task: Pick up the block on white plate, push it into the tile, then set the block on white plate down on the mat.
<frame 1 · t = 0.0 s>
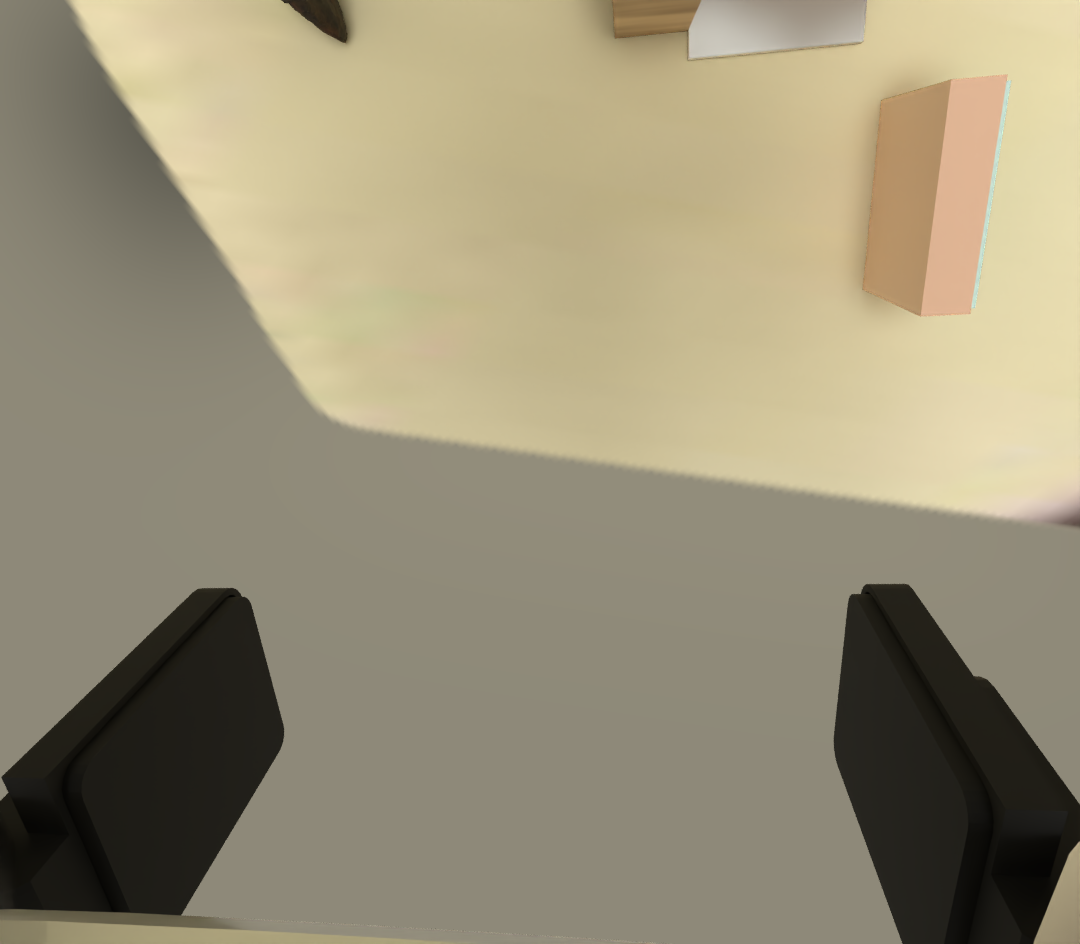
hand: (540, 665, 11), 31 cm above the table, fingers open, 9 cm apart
tile: (892, 197, 36), on the table
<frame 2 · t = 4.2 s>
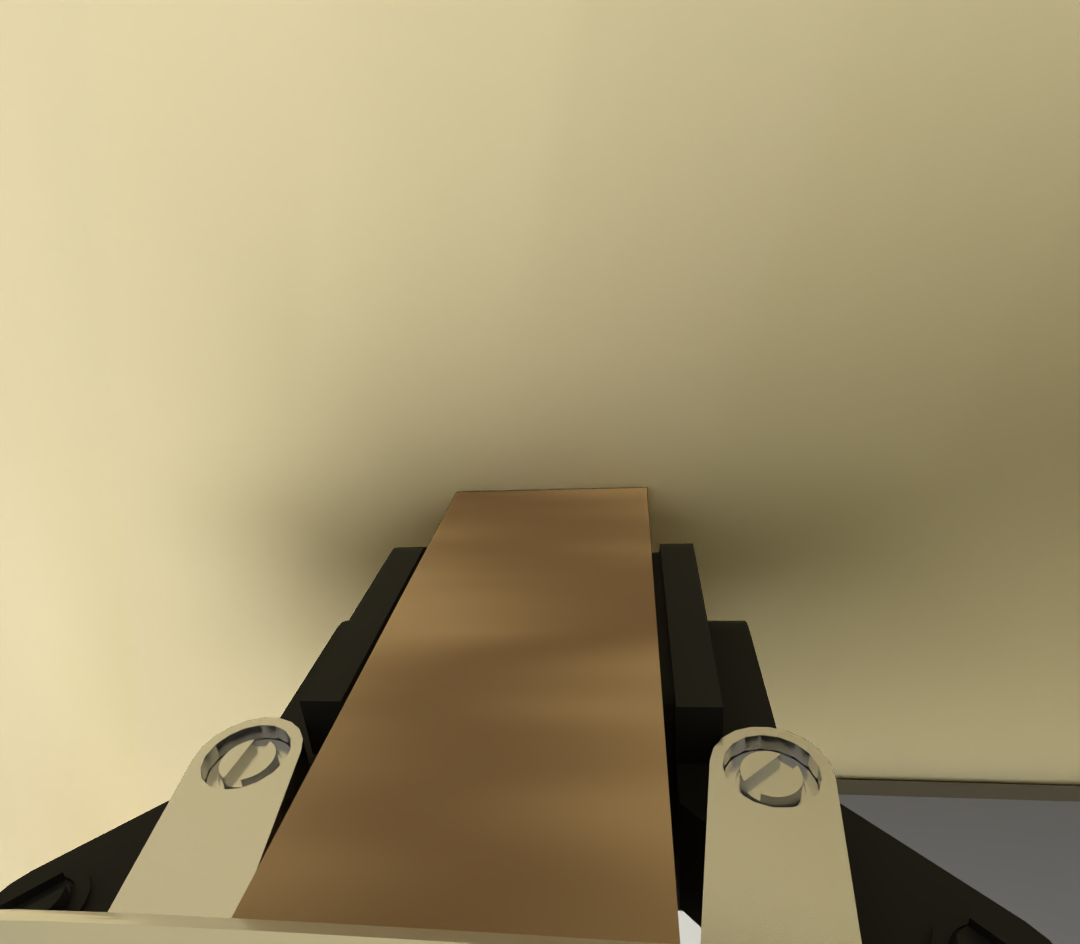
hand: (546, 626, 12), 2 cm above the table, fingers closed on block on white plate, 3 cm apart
block on white plate: (556, 572, 14), on the table, touching gripper
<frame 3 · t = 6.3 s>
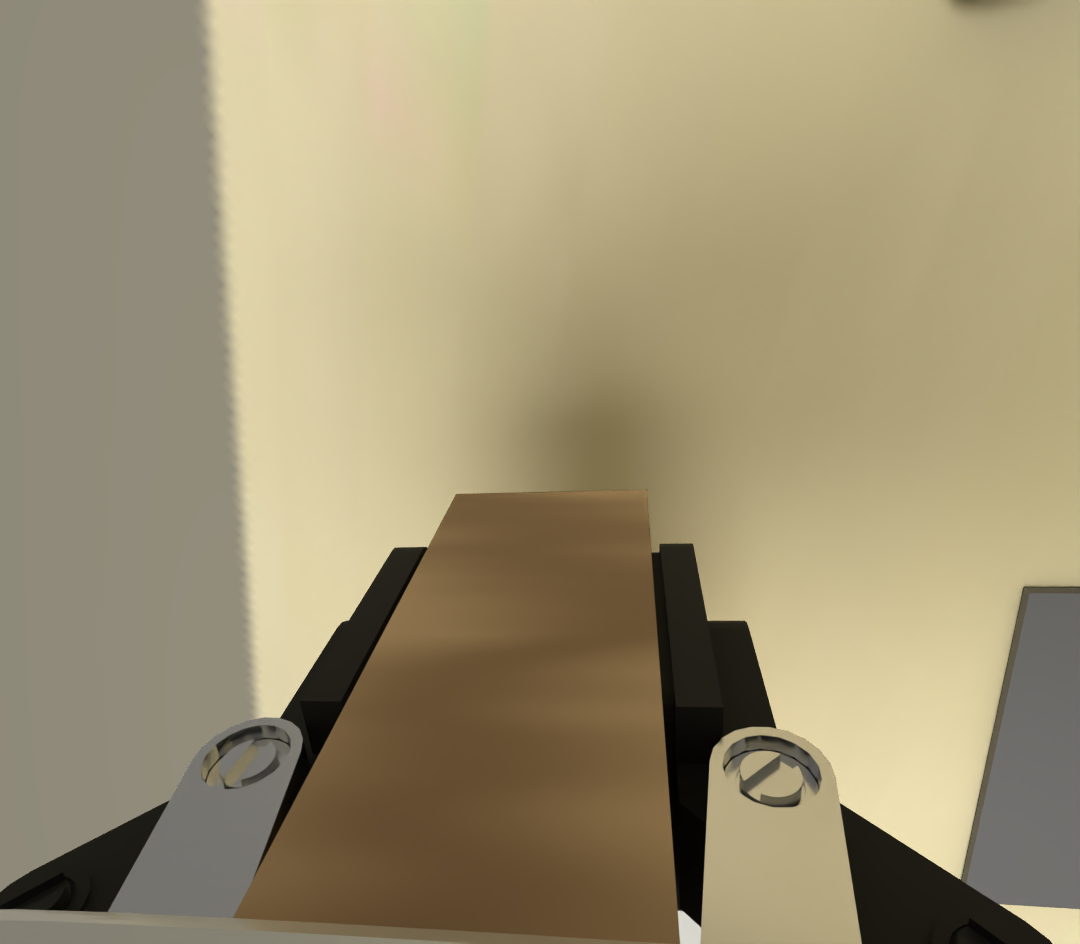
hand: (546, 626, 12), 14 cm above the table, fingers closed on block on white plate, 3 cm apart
block on white plate: (556, 575, 14), point 13 cm above the table, touching gripper
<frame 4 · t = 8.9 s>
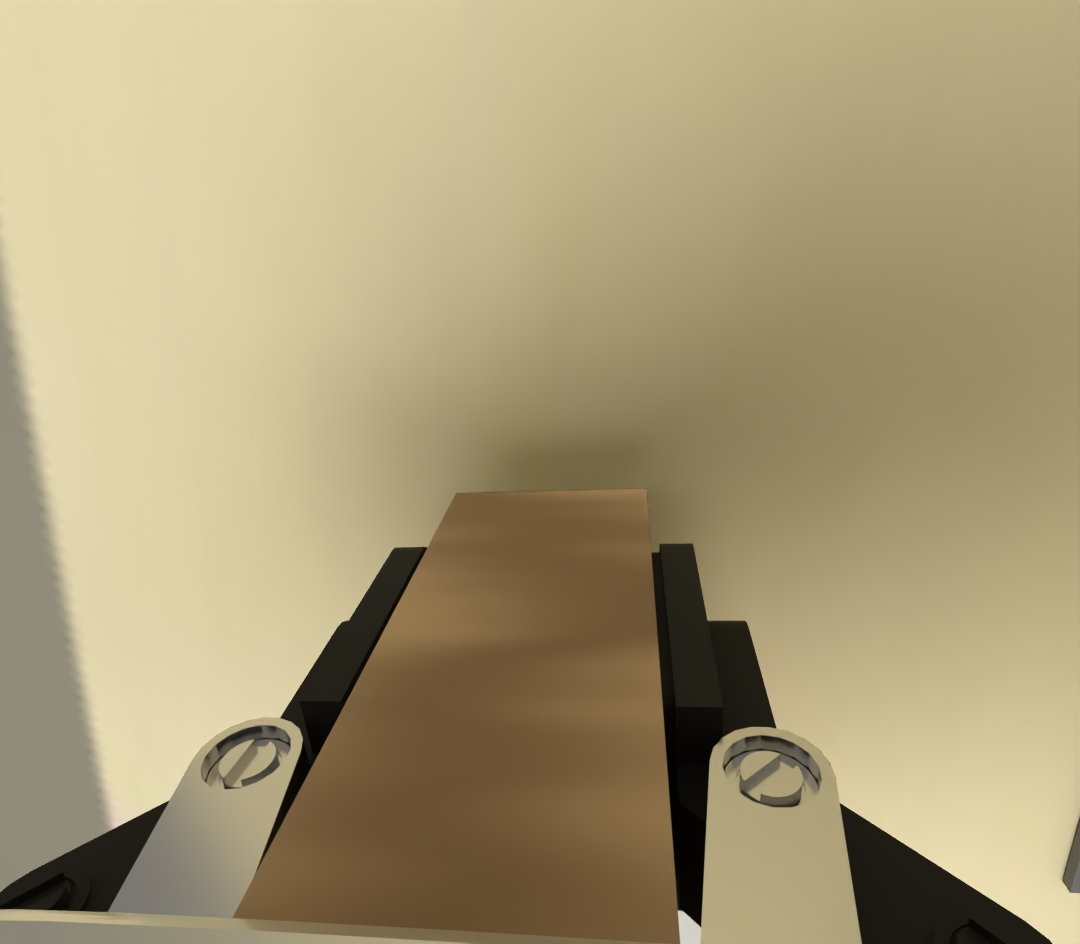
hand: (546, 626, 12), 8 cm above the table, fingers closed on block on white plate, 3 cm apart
block on white plate: (556, 574, 14), point 6 cm above the table, touching gripper
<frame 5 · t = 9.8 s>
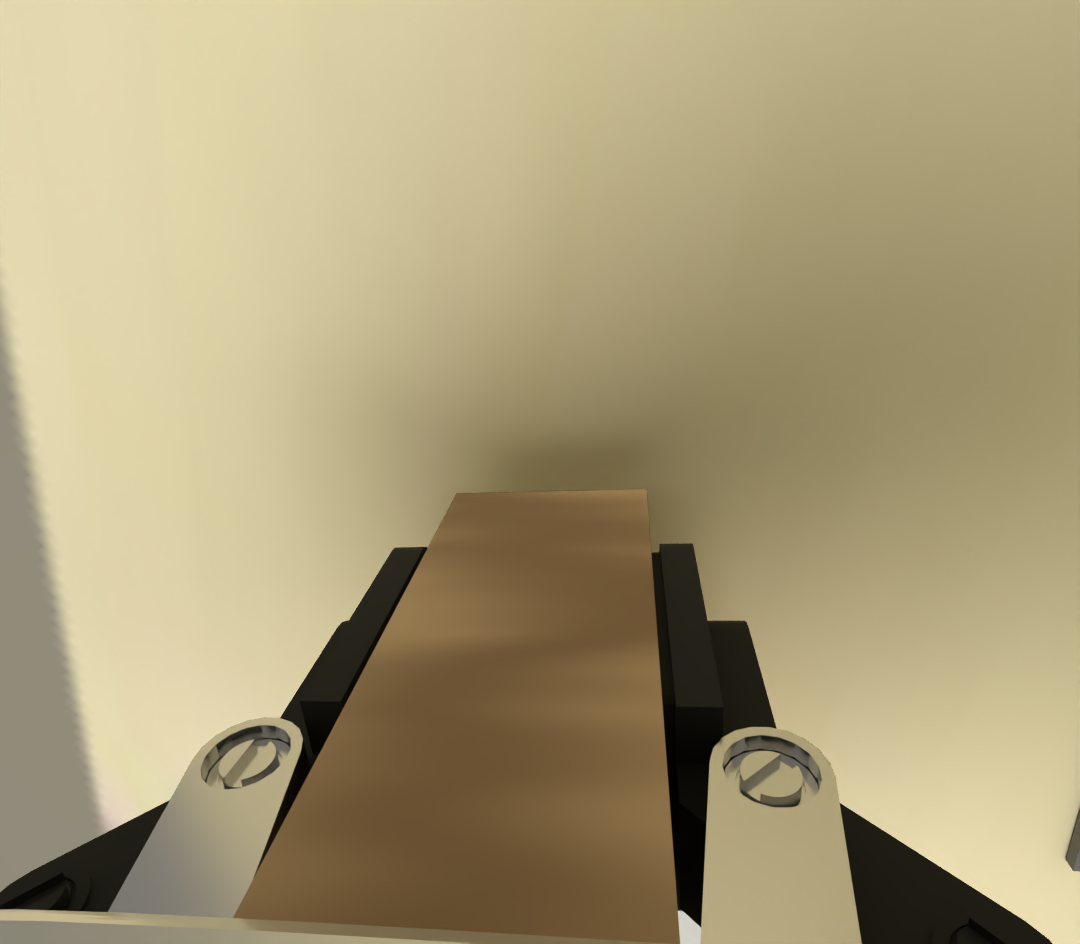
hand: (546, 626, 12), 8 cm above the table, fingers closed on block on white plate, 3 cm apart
block on white plate: (556, 574, 14), point 6 cm above the table, touching gripper
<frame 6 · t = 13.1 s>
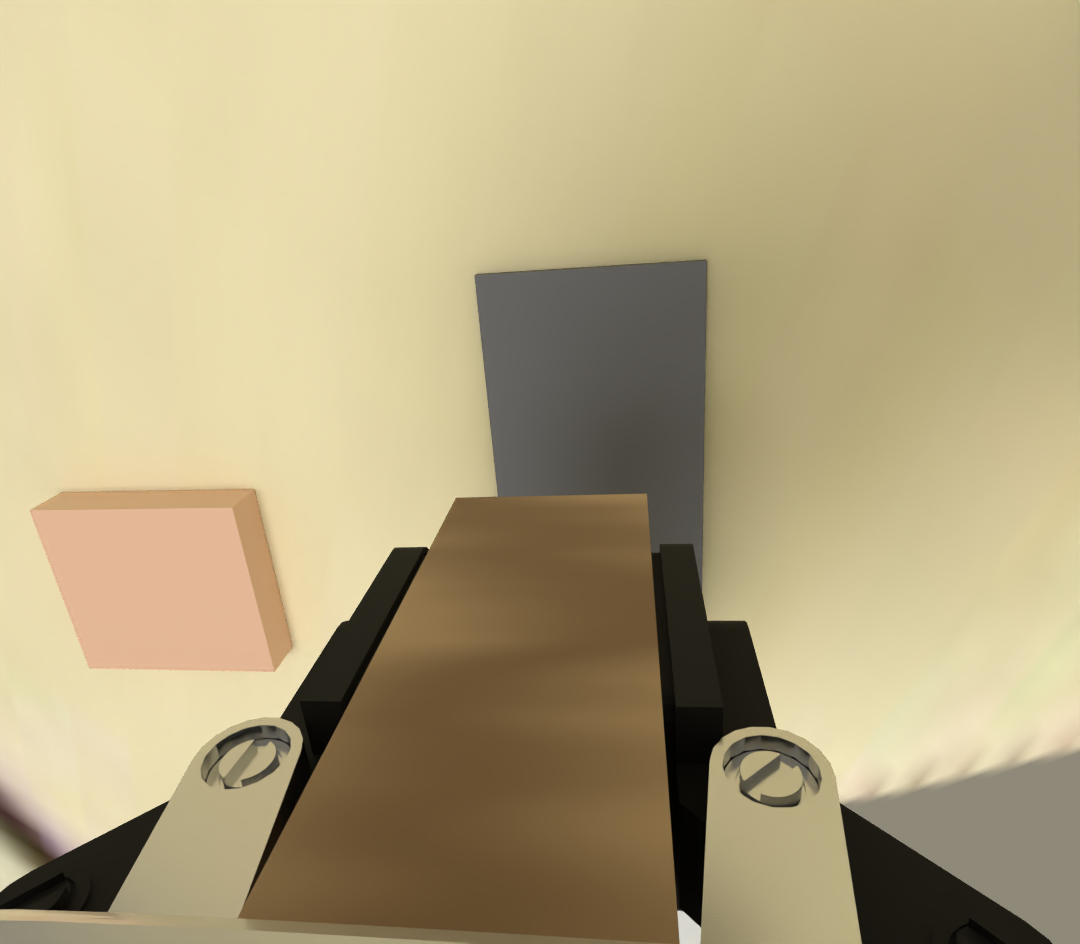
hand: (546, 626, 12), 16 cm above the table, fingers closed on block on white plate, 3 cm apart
mat: (598, 477, 28), on the table
tile: (144, 498, 30), point 1 cm above the table, tilted 90°
block on white plate: (556, 578, 14), point 14 cm above the table, touching gripper
when the fingers open (3 cm above the table, at t = 15.9 s): block on white plate drops 1 cm, resting on mat.
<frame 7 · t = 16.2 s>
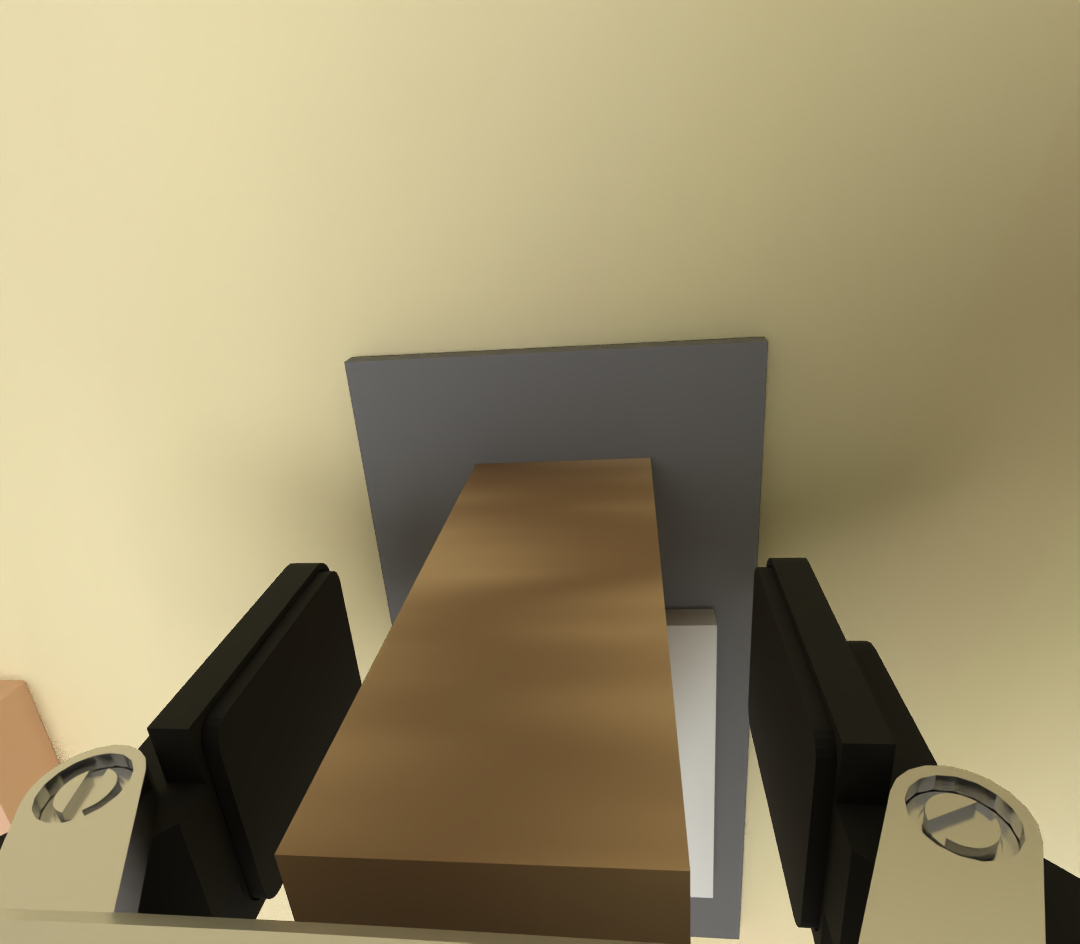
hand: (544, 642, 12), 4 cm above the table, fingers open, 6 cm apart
mat: (573, 683, 17), on the table
block on white plate: (567, 538, 15), resting on mat
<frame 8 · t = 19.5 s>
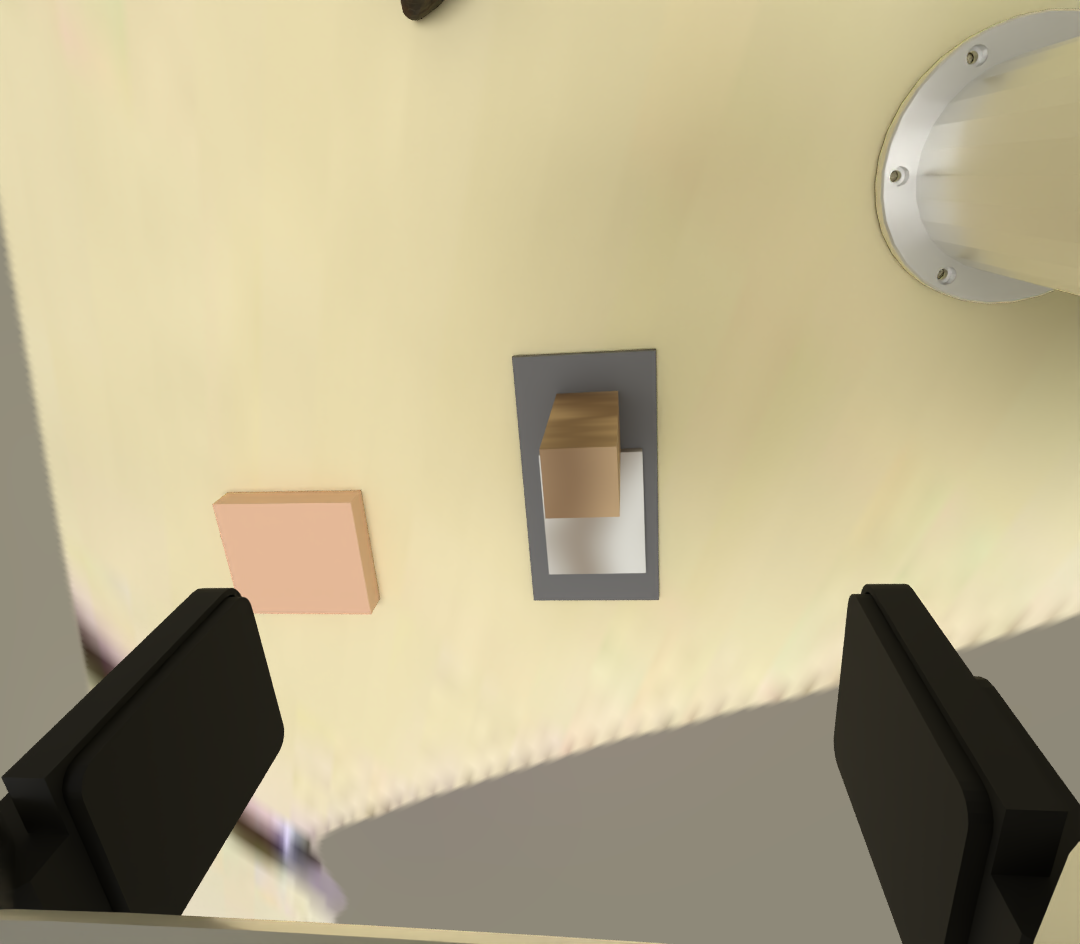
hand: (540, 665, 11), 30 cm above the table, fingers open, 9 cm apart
mat: (590, 483, 43), on the table
tile: (287, 496, 44), point 1 cm above the table, tilted 90°
block on white plate: (588, 421, 41), resting on mat
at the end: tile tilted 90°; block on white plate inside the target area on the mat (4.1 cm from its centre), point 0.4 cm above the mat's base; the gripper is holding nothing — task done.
